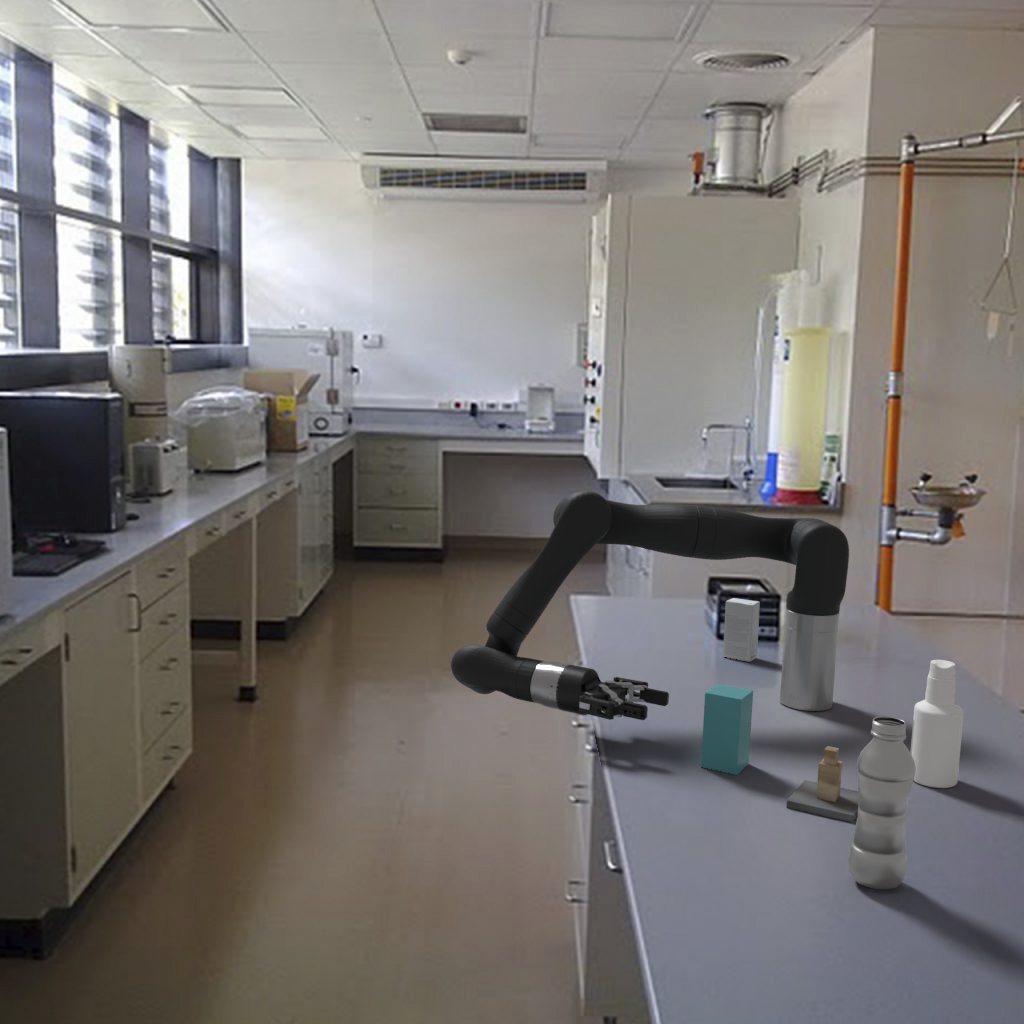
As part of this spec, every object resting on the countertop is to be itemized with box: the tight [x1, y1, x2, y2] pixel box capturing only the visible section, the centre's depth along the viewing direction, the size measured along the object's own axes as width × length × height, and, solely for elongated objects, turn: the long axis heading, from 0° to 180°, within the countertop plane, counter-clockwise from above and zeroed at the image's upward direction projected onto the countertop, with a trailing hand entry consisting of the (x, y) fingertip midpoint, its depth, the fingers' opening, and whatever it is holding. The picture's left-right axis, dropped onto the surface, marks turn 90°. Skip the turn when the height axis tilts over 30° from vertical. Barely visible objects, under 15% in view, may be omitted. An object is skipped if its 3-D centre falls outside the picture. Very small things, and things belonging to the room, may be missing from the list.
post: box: [786, 745, 859, 823], centre depth 156 cm, size 9×9×8 cm
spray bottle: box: [909, 659, 964, 789], centre depth 165 cm, size 7×7×18 cm
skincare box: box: [722, 597, 761, 663], centre depth 230 cm, size 6×4×12 cm
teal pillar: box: [700, 683, 754, 776], centre depth 169 cm, size 6×6×12 cm
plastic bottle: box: [847, 716, 916, 890], centre depth 131 cm, size 6×7×20 cm
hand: (657, 706), depth 174 cm, fingers open, 8 cm apart
